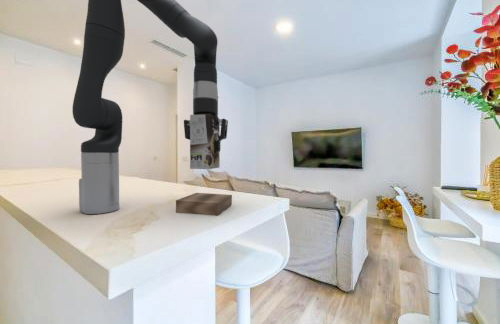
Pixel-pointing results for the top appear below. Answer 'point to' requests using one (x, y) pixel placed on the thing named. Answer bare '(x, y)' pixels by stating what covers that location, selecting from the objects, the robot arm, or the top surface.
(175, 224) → the top surface
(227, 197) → the walnut block
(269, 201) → the top surface
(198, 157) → the coffee box
